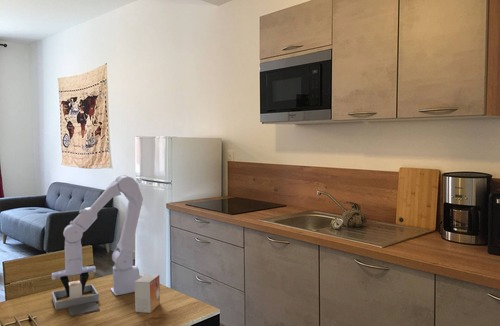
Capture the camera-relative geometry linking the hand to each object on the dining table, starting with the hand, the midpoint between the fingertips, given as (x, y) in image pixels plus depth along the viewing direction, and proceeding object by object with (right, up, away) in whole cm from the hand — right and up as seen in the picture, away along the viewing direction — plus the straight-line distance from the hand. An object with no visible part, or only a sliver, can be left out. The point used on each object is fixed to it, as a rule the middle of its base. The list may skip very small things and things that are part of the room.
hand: (75, 294), depth 146 cm
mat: (+7, -2, -9) cm, 11 cm away
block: (0, -2, 0) cm, 2 cm away
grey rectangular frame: (0, -2, 0) cm, 2 cm away
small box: (+29, -2, -8) cm, 30 cm away
